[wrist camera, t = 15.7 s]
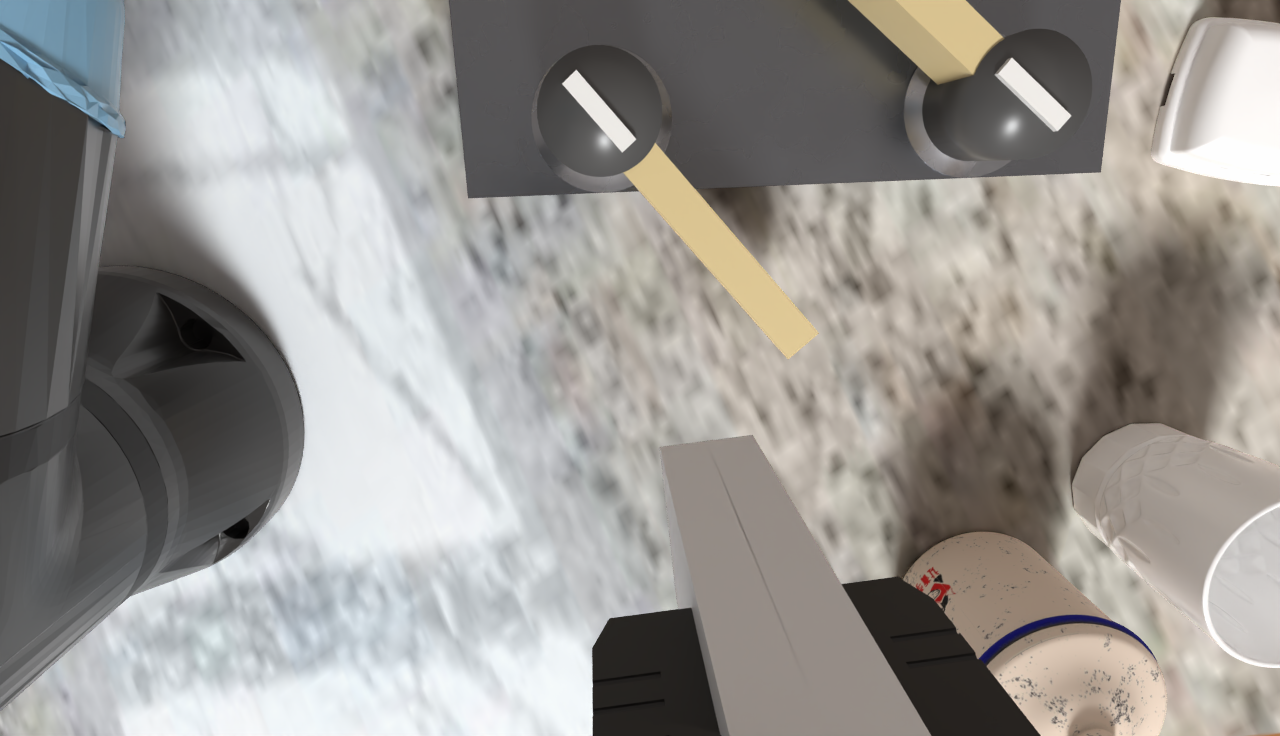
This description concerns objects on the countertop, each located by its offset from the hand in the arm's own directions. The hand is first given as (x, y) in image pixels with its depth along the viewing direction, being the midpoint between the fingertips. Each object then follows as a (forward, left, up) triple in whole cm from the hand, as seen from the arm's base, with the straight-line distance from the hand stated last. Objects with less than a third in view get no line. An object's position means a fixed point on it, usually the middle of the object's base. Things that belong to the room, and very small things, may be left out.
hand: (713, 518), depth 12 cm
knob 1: (+1, +4, -22) cm, 23 cm away
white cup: (+25, -11, -25) cm, 37 cm away
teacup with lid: (+17, -19, -25) cm, 36 cm away
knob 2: (+11, +11, -22) cm, 27 cm away
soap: (+28, +7, -25) cm, 39 cm away
